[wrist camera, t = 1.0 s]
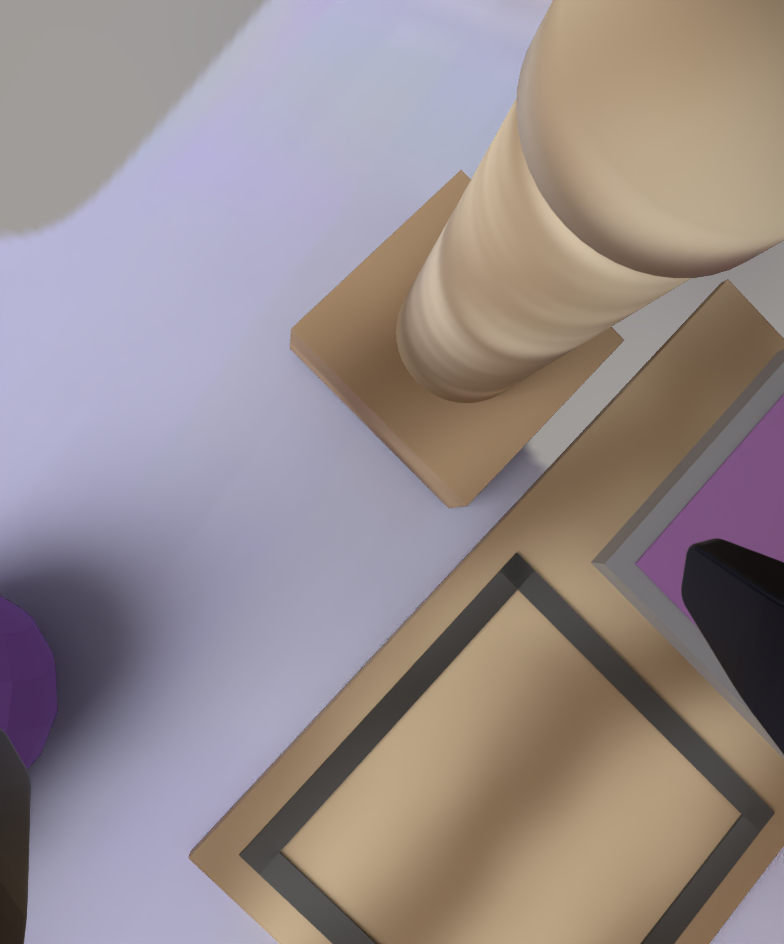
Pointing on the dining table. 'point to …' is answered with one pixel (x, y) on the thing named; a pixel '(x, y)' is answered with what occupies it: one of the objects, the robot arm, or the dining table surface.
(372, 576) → the dining table surface
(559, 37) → the stamp
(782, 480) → the ink pad
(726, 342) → the stamp board
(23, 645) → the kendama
